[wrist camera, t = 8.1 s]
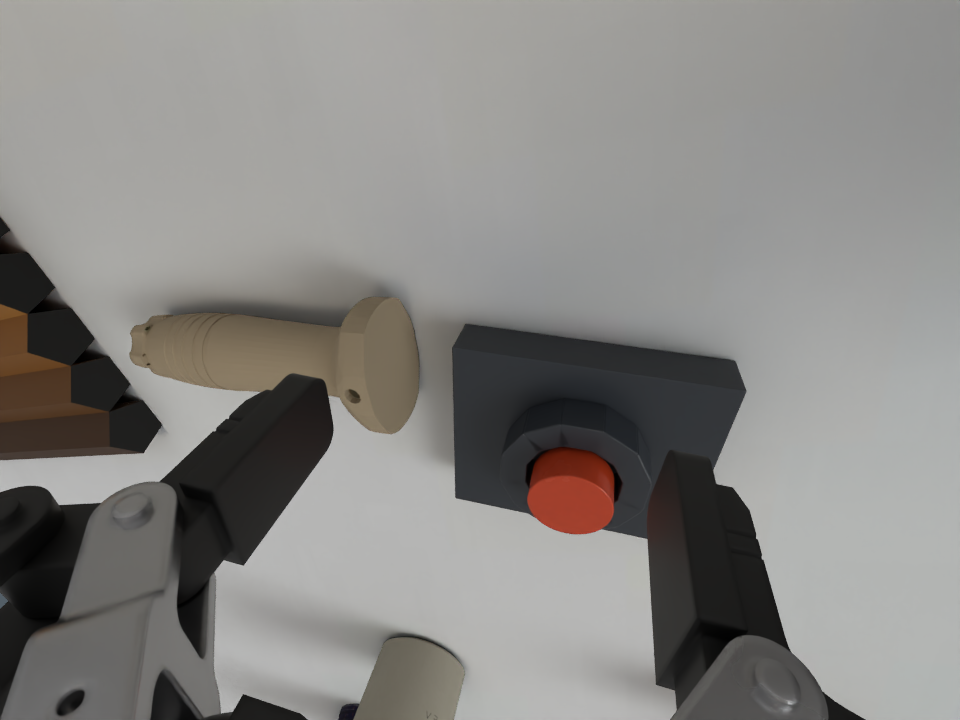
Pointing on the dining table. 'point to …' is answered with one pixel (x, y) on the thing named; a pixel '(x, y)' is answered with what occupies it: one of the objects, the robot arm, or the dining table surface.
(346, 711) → the storage jar
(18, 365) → the pan flute
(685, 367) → the button housing
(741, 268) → the dining table surface
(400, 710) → the travel mug
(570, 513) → the button
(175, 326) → the handle
